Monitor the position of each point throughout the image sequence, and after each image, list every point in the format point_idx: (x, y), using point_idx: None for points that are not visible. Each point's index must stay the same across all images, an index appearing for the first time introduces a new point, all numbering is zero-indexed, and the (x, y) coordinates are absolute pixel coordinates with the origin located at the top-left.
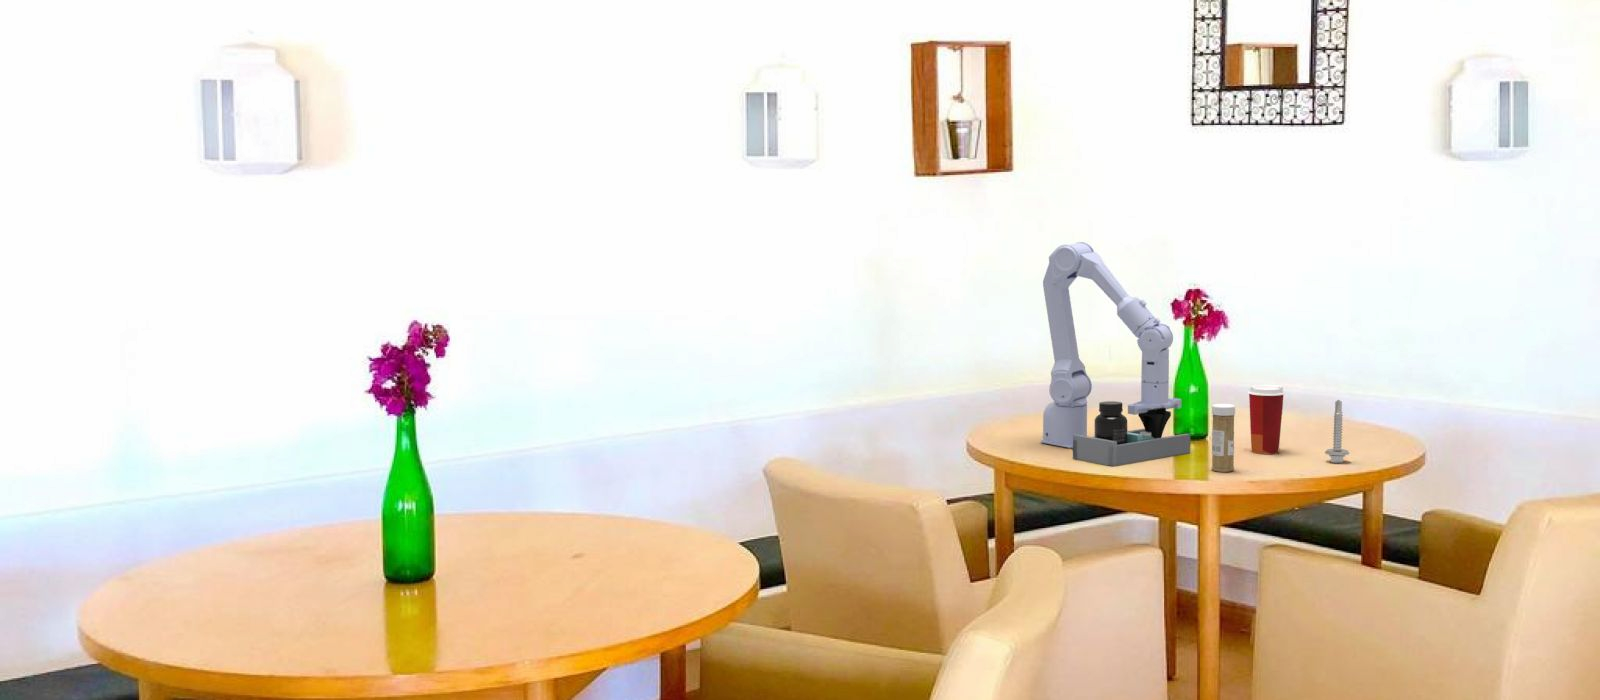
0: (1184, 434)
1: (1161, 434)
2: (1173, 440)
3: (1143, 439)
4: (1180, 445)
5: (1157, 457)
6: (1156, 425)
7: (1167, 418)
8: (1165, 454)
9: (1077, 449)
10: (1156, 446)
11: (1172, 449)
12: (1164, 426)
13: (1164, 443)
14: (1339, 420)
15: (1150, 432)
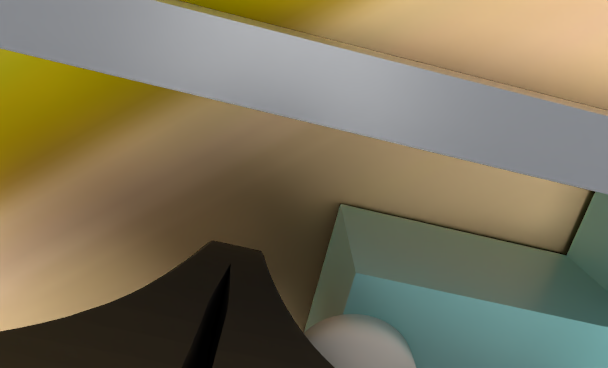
0: (8, 15)
1: (190, 271)
2: (303, 36)
3: (526, 306)
4: (184, 4)
5: (509, 85)
6: (318, 355)
7: (48, 344)
8: (410, 60)
9: None
10: (579, 106)
11: (315, 37)
12: (126, 302)
13: (459, 76)
14: None
15: None
